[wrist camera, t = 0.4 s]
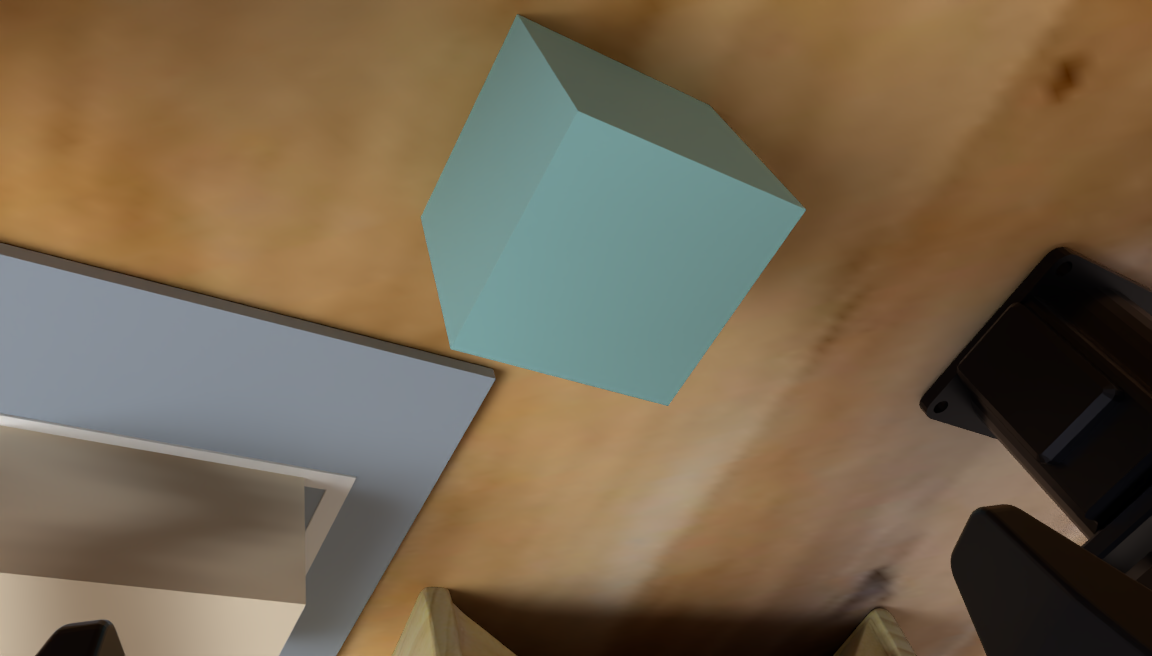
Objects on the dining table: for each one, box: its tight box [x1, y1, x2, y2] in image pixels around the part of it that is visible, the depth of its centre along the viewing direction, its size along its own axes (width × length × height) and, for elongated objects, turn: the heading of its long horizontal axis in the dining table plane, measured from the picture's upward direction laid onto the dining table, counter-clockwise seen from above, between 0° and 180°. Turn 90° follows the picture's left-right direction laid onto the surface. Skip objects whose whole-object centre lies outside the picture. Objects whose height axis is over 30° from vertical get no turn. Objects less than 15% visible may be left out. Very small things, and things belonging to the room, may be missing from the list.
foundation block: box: [0, 425, 306, 656], centre depth 21 cm, size 7×7×4 cm
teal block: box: [421, 14, 806, 406], centre depth 18 cm, size 5×5×5 cm
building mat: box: [0, 243, 496, 656], centre depth 23 cm, size 14×14×1 cm
